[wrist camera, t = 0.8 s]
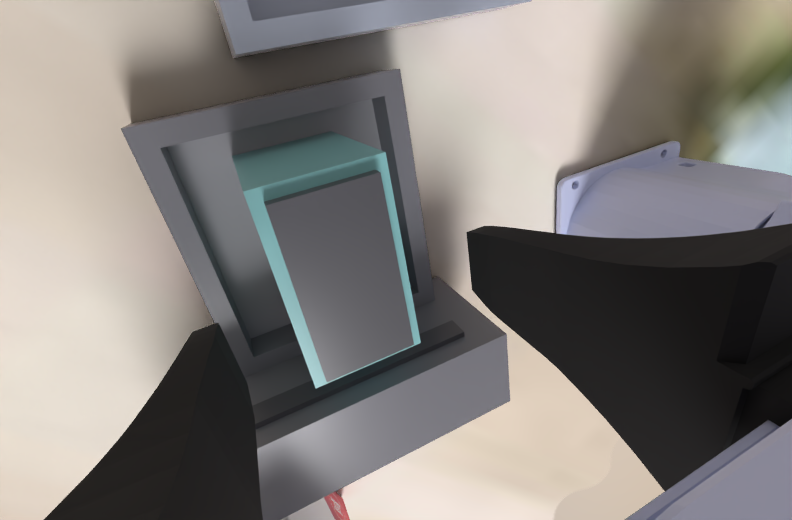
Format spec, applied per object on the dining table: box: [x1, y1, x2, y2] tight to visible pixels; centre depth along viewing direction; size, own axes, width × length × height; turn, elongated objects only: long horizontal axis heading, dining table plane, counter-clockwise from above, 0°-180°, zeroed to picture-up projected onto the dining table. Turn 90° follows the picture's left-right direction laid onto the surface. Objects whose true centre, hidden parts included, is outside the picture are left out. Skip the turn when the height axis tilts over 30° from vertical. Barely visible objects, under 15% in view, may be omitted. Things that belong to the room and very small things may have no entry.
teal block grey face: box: [232, 131, 421, 388], centre depth 15 cm, size 4×7×6 cm, turn 10°
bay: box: [121, 69, 510, 520], centre depth 16 cm, size 12×15×6 cm
